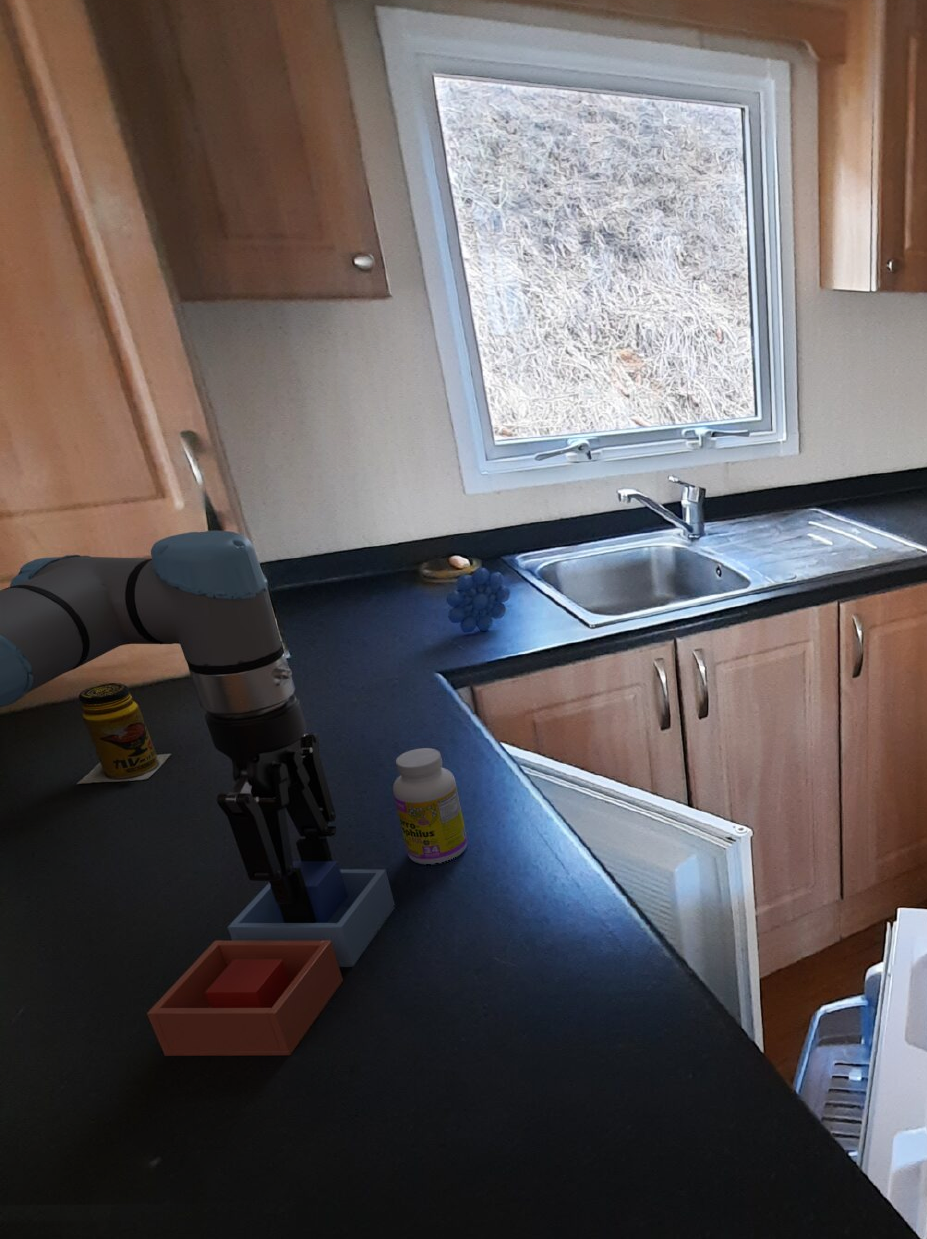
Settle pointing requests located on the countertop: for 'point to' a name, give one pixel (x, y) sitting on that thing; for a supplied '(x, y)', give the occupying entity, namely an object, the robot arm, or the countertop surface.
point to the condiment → (118, 735)
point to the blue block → (322, 887)
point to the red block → (249, 984)
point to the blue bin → (343, 929)
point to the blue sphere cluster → (478, 600)
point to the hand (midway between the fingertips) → (313, 907)
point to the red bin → (246, 1031)
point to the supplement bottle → (428, 807)
